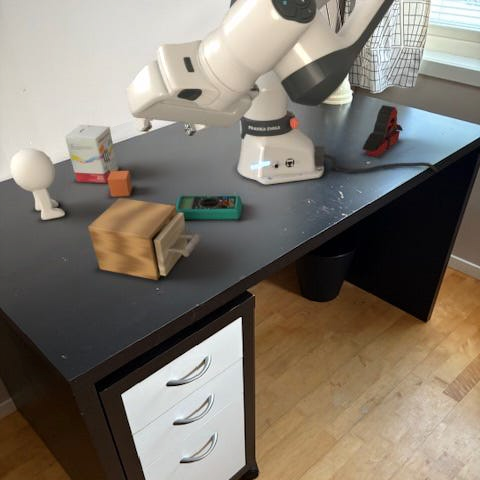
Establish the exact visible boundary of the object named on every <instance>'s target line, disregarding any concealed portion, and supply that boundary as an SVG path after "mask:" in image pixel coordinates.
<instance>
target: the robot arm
mask: <svg viewBox="0 0 480 480" xmlns="http://www.w3.org/2000/svg"><path fill="white" fill-rule="evenodd" d="M330 1H331V0H230V2H229V3H230V4H229V8H228V10H227V11H226V12H225V13H224V15H223V17H222V19H221V22H220V24H219V25H218V26H217V27H216V28H215V29H213V30H211V31H210V32H209V33H208V34H207V35H205V37H204V38H203V39H202V40H199V39H198V40H194V41H189V42H183V43H181V42H180V43H164V44H162V45H160V46H159V47H158V48H157V50H156V51H155V55H156V56H155V57H156V60H153V61H150V62H148V63H147V64H146V65H144V67H142V68H141V70H140V71H139V72H138V73H137V75H135V77H134V78H133V79H132V81H131V82H130V83H129V85H128V86H127V88H126V90H125V100H126V104H127V106H128V109H129V112H130V113H131V115H132V117H133V118H137V119H136V122H135V124H136V129H137V130H138V132H140V133H141V132H143V133H147V132H149V131H150V130H151V129H152V128H153V125H152V121H154V120H155V121H163V122H164V121H165V122H174V123H183V124H184V125H183V130H184V132H185V135H186V136H189V137H194V136H196V135H197V134H198V133H199V132H202V131H204V130H206V129H209V128H211V127H218V128H230V127H232V126H233V127H234V125H236V124H237V123H238V122H239V134H240V137H241V143H240V144H241V145H240V147H241V148H240V154H239V159H238V164H237V169H236V170H237V172H238V173H239V174H240V175H241V176H243V177H244V178H247V179H250V180H253V181H257V182H258V183H260V184H262V185H272V184H274V185H275V184H281V183H289V182H296V181H305V180H311V179H312V180H313V179H318V178H319V179H320V177H322V176H323V174H324V172H325V159H328V160H331V161H332V168H333V169H334V170H335V171H337V172H343V173H350V174H353V173H366V172H367V173H368V172H372V171H376V170H382V169H389V168H397V167H427V168H429V169H431V170H433V171H434V172H439V169H438V168H437V167H436V166H435V165H434V164H431V163H429V162H397V163H388V164H380V165H377V166H371V167H367V168H351V169H342V168H340V167H338V166H337V165H336V164H337V159H336V158H335V157H334V156H332V155H328V154H326V153H325V146H321V145H314V142H313V141H312V139H311V138H310V137H309V136H308V135H307V134H305V133H303V132H302V131H301V130H300V129H298V127H299V125H300V124H299V122H300V121H299V120H298V118H297V117H296V115H295V114H294V112H293V111H292V110H290V111H289V110H288V101H289V100H288V98H289V99H290V101H291V102H292V103H294V104H297V105H301V106H307V107H318V106H319V105H321V104H322V103H324V102H326V101H327V100H329V99H330V98H331V97H332V96H333V95H335V93H336V92H337V91H338V90H339V89H340V88H341V86H342V85H343V83H344V81H345V80H346V78H347V76H348V75H349V73H350V72H351V70H352V68H353V66H354V64H355V62H356V61H357V58H358V56H359V55H360V54H361V52H362V50H363V49H364V47H365V46H366V44H367V43H368V42H369V40H370V38H371V37H372V35H374V32H375V31H376V30H377V28H378V27H379V25H380V24H381V22H382V20H383V19H384V18H385V16H386V15H387V13H388V12H389V10H390V9H391V7H392V5H393V4H394V2H395V1H396V0H355V1H354V2H355V3H354V7H353V9H352V11H351V12H350V14H349V16H348V17H347V19H346V20H345V21H344V23H343V25H342V26H341V27H340V29H339V31H338V32H337V33H336V31H334V29H333V28H332V27H331V25H330V24H329V23H328V21H327V19H326V18H325V17H324V15H323V14H322V12H321V9H322V8H323V7H325V5H327V4H328V3H329V2H330Z"/></svg>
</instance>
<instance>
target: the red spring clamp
mask: <svg viewBox="0 0 480 480" xmlns="http://www.w3.org/2000/svg"><path fill="white" fill-rule="evenodd" d="M403 131H404V130H403V127H402V125H400V124H398V109H397V107H395V106H390V105H386V104H382V105H381V107H380V108H379V110H378V113H377V115H376V120H375V124H374V126H373V130H372V132H371V133H370V134H369V135H368V137H367V139H366V140H365V142H364V145H363V146H362V148H361V150H363V151H365V155H368V156H372V157H375V158H379V157H380V156H381V155H382V154H383V153H384V152H386V151H388V150H389V149H390V148H391V147H393V146H394V145H395V144H396V143H398V142H399V137H400V132H403Z"/></svg>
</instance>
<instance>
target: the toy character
mask: <svg viewBox="0 0 480 480" xmlns="http://www.w3.org/2000/svg"><path fill="white" fill-rule="evenodd" d="M9 167H10V172H11V177H12V178H13V180H14V182H15V183H16V185H18V186H19V187H20V188H22V189H23V190H24V191H28V192H32V194H33V197H34V202H35V203H34V207H35V210H36V211H40V218H41V220H45V221H47V220H51V219H56V218H57V219H58V218H61V217H64V216H65V215H66V213H65V211H64V210H63V209H62V208H60V207H58V206H59V203H58V202H57V200H55V199H52V198H51V195H50V192H49V190H48V189H49V188H50V187H51V186H52V185H53V183H54V182H55V179H56V169H55V165H54V163H53V161H52V159H51V157H50V156H49V155H47V153H45V152H44V151H43V150H39V149H37V148H24V149H21V150H19V151H16V153H15V154H14V155H13V156H12V158H11V161H10V166H9Z"/></svg>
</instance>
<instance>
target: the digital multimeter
mask: <svg viewBox="0 0 480 480" xmlns="http://www.w3.org/2000/svg"><path fill="white" fill-rule="evenodd" d="M242 204H243V202H242V199H241V196H240V195H237V194H229V195H228V194H226V195H224V194H221V195H180V196H178V198H177V201H176V202H175V206H176V208H177V213H178V212H180V213H184V221H185V220H188V221H189V220H238V219H239V218H240V216H241V215H242V213H243V205H242Z"/></svg>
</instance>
